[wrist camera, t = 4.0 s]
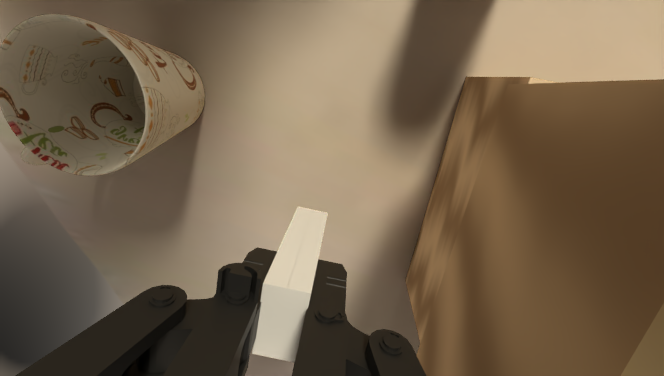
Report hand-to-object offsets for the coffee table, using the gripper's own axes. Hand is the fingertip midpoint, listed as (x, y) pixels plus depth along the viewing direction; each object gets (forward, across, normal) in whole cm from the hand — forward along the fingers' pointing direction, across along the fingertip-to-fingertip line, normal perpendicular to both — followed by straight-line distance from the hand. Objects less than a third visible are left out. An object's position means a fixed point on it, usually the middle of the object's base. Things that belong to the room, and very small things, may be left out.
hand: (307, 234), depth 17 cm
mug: (+13, -15, +2) cm, 20 cm away
